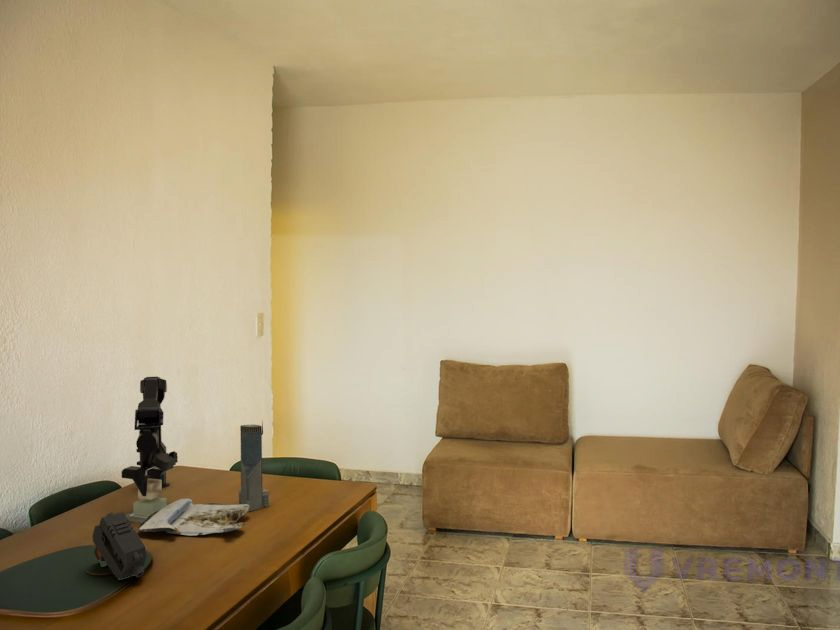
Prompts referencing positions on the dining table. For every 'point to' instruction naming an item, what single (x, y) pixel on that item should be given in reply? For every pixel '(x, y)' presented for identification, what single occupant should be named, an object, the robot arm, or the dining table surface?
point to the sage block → (148, 506)
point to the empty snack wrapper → (195, 518)
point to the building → (252, 468)
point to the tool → (119, 546)
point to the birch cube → (152, 489)
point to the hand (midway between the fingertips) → (150, 493)
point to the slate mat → (135, 518)
